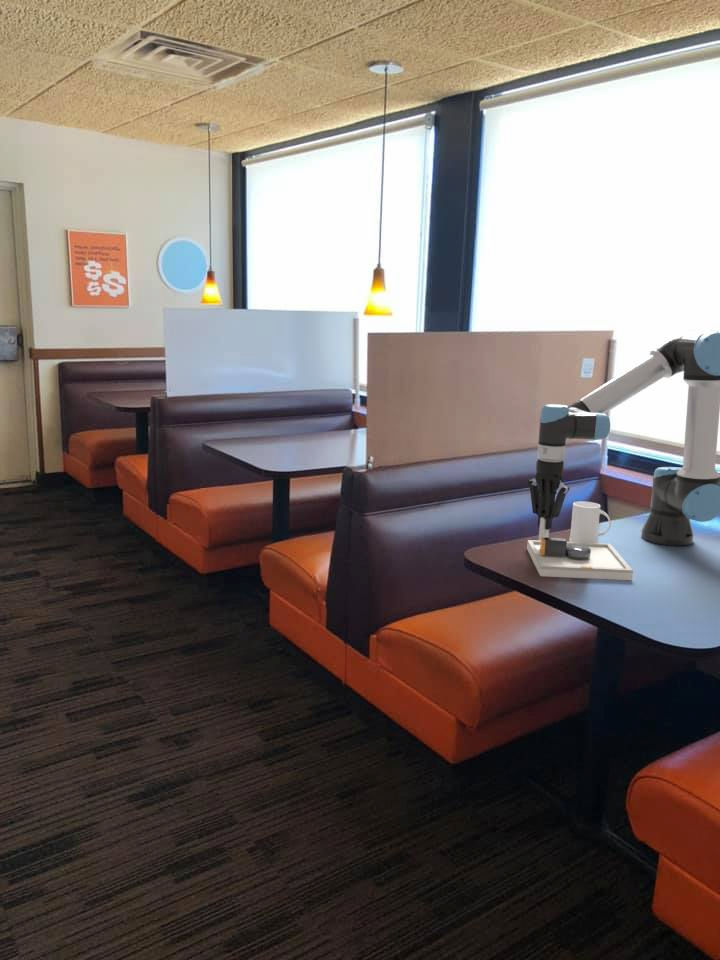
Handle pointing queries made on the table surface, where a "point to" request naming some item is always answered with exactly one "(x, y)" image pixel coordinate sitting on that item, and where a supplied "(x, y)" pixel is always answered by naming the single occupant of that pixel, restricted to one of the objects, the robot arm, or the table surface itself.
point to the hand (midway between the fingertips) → (543, 539)
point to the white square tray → (582, 563)
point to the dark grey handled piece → (563, 548)
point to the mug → (586, 522)
